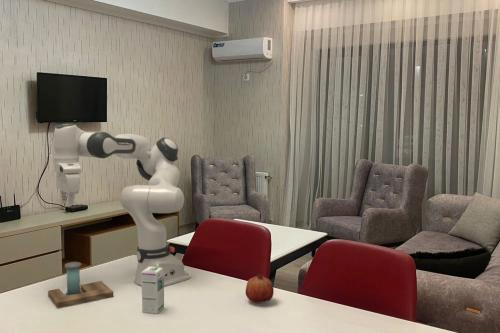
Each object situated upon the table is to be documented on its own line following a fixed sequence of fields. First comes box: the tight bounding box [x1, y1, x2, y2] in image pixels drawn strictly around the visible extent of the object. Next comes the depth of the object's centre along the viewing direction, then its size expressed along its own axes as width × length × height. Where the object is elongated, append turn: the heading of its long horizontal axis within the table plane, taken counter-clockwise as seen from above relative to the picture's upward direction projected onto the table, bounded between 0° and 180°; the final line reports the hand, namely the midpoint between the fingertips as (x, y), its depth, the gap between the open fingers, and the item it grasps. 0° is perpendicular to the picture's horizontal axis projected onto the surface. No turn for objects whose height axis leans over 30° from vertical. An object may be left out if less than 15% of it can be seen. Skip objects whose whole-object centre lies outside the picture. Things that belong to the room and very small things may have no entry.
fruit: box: [245, 273, 274, 304], centre depth 169 cm, size 11×10×10 cm
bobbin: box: [64, 261, 83, 296], centre depth 172 cm, size 6×6×12 cm
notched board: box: [47, 280, 114, 309], centre depth 172 cm, size 20×14×2 cm
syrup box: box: [141, 267, 165, 315], centre depth 160 cm, size 6×6×14 cm
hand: (67, 202), depth 178 cm, fingers open, 8 cm apart
